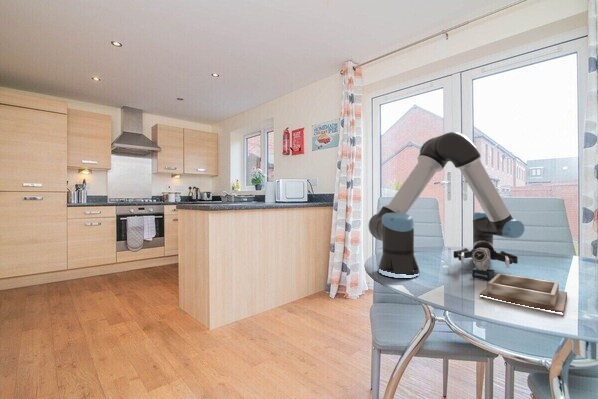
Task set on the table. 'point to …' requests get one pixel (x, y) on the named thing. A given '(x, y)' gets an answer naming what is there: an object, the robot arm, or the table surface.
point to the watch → (482, 264)
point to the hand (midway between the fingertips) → (484, 261)
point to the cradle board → (526, 292)
